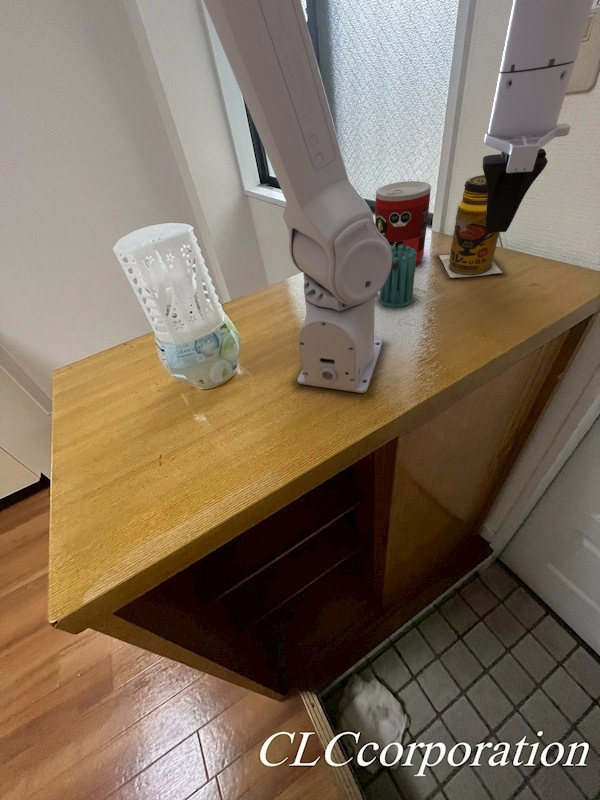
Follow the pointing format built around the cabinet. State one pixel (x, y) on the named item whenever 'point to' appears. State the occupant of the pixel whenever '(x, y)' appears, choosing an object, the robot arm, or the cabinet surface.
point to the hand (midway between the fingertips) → (496, 230)
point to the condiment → (472, 235)
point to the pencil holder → (399, 278)
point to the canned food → (403, 214)
